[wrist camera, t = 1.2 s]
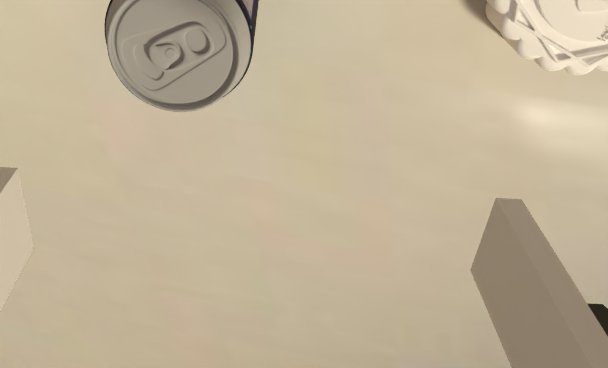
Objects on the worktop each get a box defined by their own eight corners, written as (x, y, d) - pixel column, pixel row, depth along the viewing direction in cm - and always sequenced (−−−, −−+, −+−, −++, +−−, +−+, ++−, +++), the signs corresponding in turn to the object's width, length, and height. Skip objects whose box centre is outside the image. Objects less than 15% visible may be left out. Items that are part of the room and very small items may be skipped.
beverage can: (135, -57, 30) (63, 12, 20) (232, -104, 29) (205, -55, 19) (188, 39, 33) (148, 141, 23) (278, 0, 32) (276, 89, 22)
